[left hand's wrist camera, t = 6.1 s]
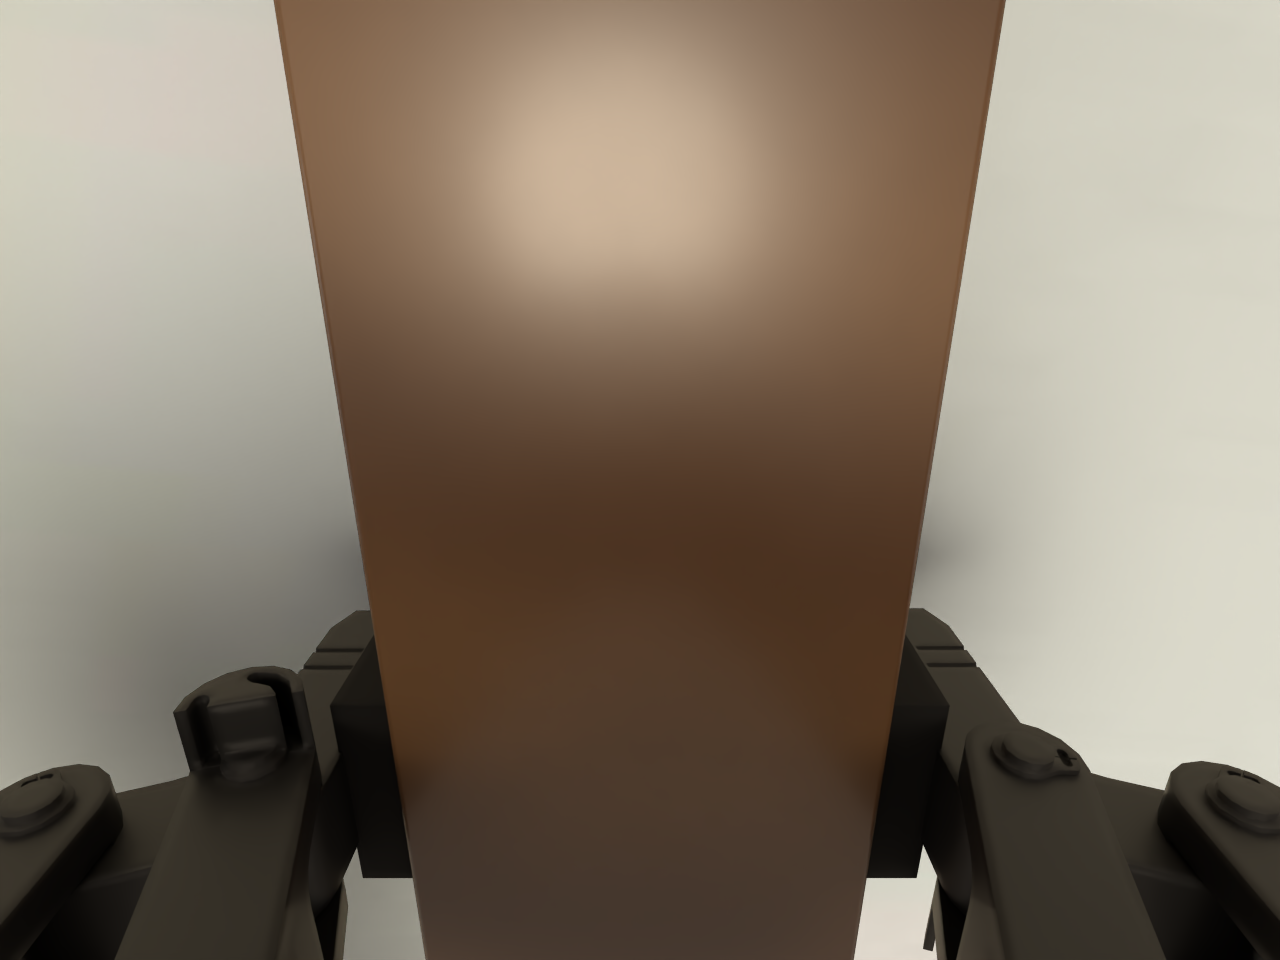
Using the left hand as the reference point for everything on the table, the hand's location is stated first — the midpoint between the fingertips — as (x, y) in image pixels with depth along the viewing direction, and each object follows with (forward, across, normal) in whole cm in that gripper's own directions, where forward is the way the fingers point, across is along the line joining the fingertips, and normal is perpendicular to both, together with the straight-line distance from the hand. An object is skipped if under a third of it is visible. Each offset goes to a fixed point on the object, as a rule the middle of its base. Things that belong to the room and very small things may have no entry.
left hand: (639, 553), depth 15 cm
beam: (+1, 0, -28) cm, 28 cm away
